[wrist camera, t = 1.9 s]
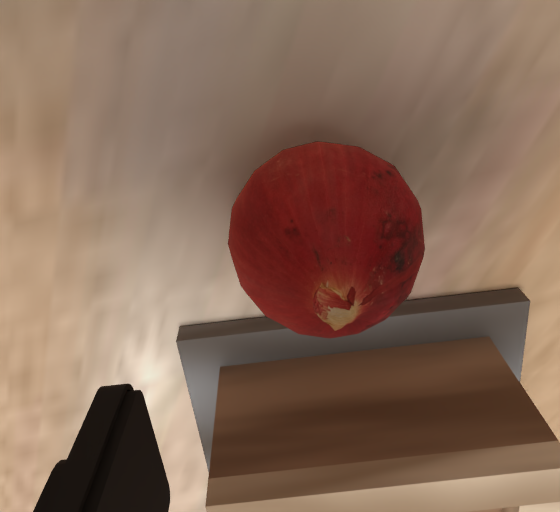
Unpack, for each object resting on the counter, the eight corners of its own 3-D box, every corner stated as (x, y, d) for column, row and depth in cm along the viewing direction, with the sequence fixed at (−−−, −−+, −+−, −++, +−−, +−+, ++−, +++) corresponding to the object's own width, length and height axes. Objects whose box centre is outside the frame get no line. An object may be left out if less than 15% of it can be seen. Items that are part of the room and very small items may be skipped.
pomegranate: (381, 99, 18) (463, 173, 11) (401, 247, 20) (478, 386, 13) (216, 139, 18) (188, 235, 11) (256, 279, 21) (255, 430, 14)
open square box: (179, 326, 22) (144, 477, 15) (518, 288, 21) (636, 423, 15) (231, 541, 28) (223, 715, 21) (493, 514, 28) (567, 680, 21)
